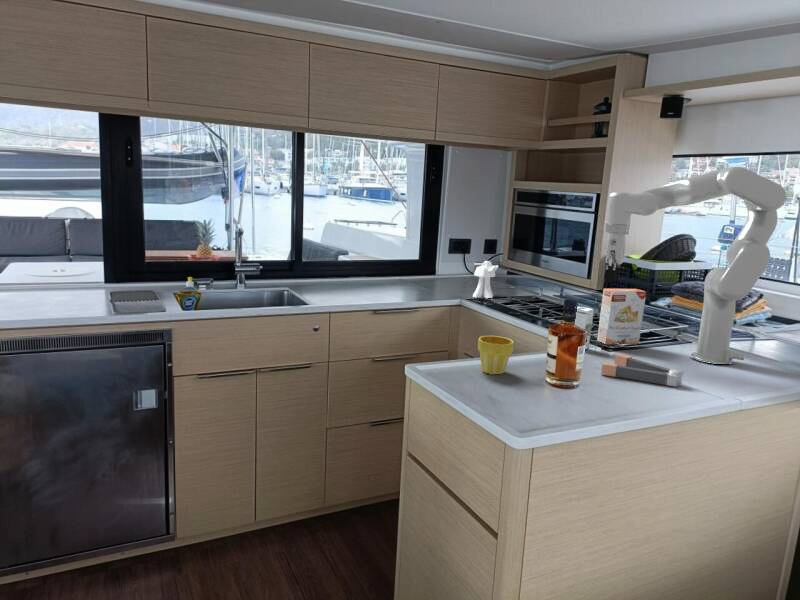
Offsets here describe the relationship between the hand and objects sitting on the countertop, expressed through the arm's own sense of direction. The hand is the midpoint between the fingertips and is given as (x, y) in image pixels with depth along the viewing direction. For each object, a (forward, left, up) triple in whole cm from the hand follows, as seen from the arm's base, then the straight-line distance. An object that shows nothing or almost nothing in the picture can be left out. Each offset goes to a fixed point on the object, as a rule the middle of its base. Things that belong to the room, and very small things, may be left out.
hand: (611, 280), depth 203 cm
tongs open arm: (-14, +20, -25) cm, 35 cm away
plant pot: (+26, +46, -25) cm, 58 cm away
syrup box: (+8, +3, -25) cm, 27 cm away
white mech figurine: (+67, -74, -25) cm, 103 cm away
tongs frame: (-14, +28, -25) cm, 40 cm away
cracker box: (-4, -9, -25) cm, 27 cm away
